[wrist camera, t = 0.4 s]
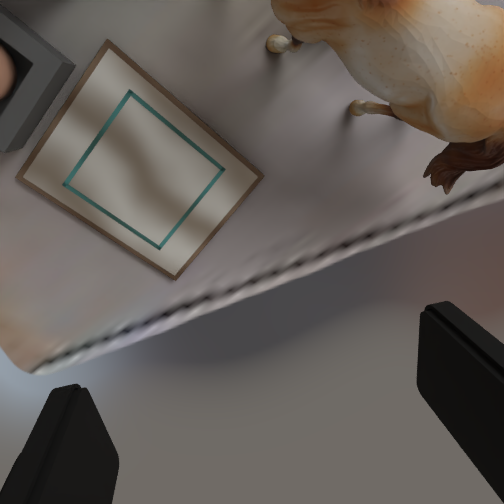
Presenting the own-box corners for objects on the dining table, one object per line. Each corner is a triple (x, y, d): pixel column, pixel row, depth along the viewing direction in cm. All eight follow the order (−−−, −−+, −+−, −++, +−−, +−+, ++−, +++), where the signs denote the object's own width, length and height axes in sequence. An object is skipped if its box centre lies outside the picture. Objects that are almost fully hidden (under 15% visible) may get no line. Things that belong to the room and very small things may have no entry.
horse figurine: (159, -5, 30) (101, -177, 11) (205, -104, 28) (229, -514, 9) (413, 183, 40) (605, 258, 21) (460, 121, 38) (718, 143, 19)
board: (109, 40, 31) (106, 38, 30) (263, 174, 37) (265, 176, 36) (19, 175, 34) (14, 177, 33) (175, 277, 40) (175, 281, 39)
